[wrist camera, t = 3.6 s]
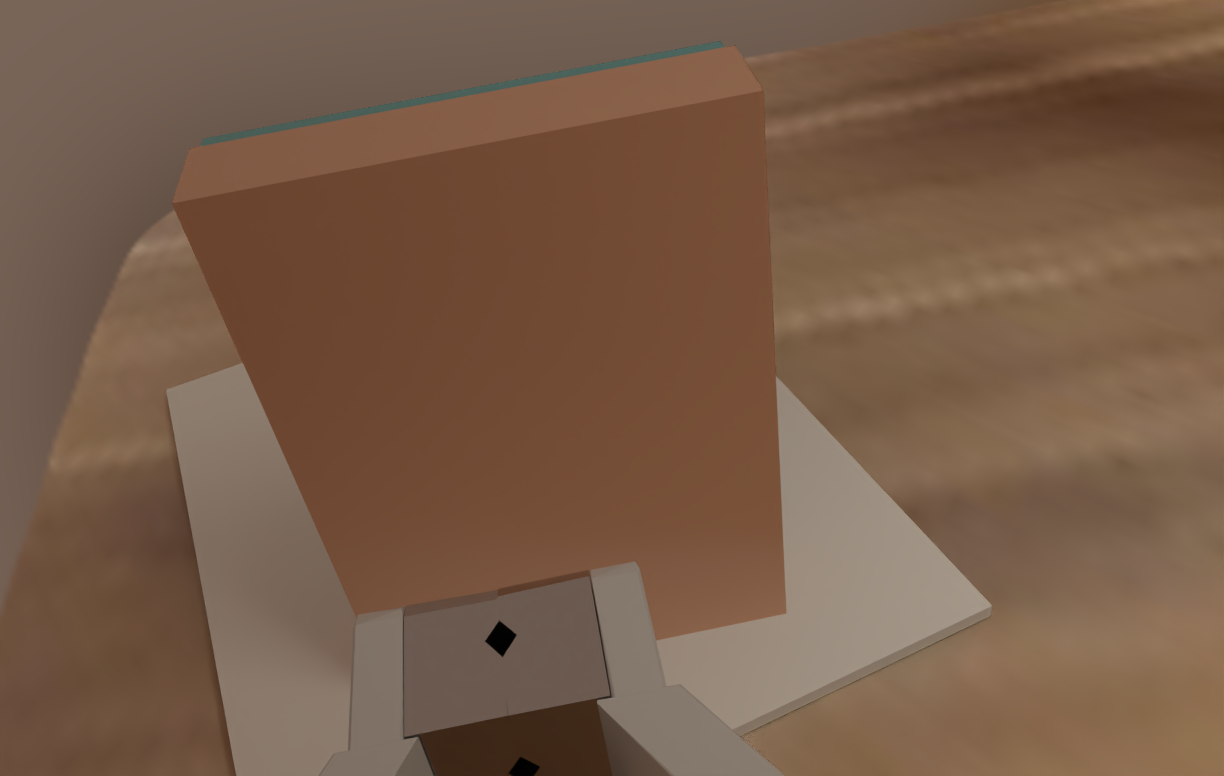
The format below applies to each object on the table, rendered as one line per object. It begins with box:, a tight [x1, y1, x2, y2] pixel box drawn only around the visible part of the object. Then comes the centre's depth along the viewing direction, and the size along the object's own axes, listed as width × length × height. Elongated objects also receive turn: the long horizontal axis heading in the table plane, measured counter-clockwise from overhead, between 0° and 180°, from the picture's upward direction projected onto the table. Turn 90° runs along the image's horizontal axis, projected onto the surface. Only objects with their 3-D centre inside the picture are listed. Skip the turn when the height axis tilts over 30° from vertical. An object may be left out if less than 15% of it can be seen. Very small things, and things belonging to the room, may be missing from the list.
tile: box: [172, 41, 786, 640], centre depth 24 cm, size 2×10×14 cm, turn 99°
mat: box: [166, 363, 992, 776], centre depth 33 cm, size 18×21×1 cm
